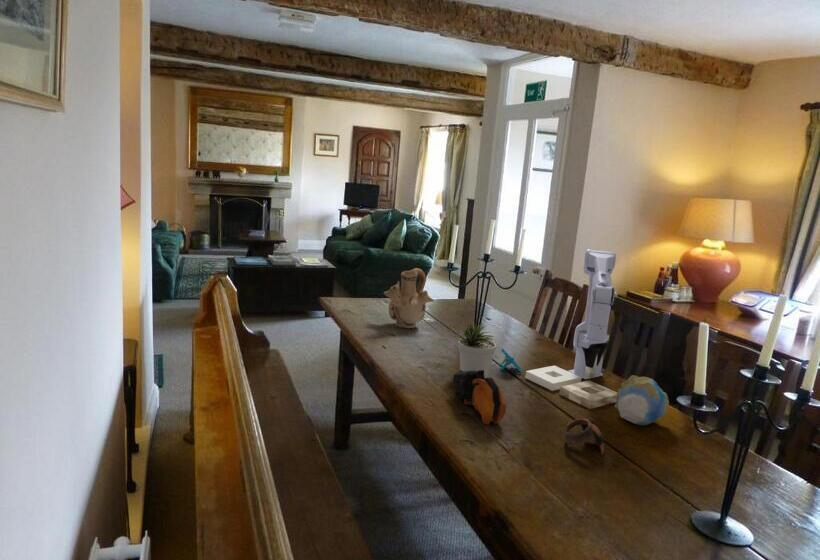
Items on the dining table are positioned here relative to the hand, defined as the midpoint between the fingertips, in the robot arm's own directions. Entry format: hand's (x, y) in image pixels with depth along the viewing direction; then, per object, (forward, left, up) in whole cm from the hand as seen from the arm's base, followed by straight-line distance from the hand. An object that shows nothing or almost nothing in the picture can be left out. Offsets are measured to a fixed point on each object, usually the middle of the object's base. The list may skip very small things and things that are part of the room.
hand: (591, 365), depth 175 cm
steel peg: (0, 0, -3) cm, 4 cm away
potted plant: (+23, -29, -11) cm, 39 cm away
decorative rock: (0, +18, -11) cm, 21 cm away
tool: (+39, -8, -11) cm, 42 cm away
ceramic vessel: (+13, -87, -11) cm, 89 cm away
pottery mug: (+28, +21, -11) cm, 37 cm away
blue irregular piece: (+6, -29, -11) cm, 31 cm away
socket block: (0, -14, -10) cm, 18 cm away
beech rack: (0, +1, -10) cm, 11 cm away
